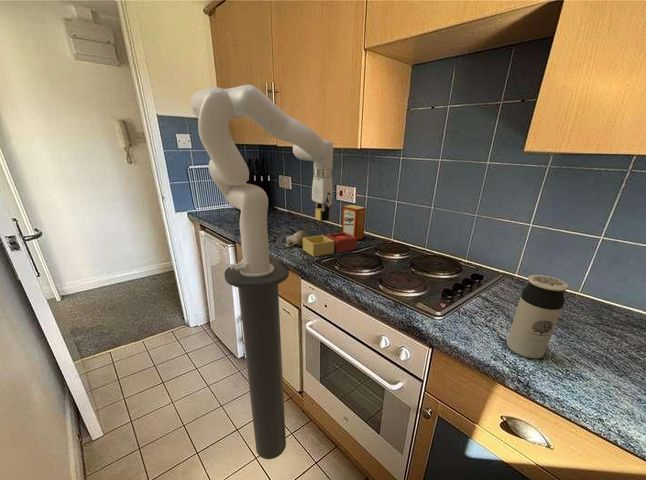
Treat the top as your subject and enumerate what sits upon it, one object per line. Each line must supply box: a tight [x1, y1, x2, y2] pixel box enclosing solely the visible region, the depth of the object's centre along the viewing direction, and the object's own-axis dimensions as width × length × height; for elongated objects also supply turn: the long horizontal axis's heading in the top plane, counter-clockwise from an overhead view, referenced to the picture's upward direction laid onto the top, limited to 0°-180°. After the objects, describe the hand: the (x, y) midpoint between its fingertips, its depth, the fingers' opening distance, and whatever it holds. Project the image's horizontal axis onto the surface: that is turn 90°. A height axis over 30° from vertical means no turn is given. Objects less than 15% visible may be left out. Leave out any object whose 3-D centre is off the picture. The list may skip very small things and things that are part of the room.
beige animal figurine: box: [285, 230, 309, 248], centre depth 139 cm, size 8×10×10 cm
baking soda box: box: [341, 204, 367, 241], centre depth 151 cm, size 10×6×16 cm
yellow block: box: [314, 208, 331, 222], centre depth 127 cm, size 4×4×4 cm
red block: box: [335, 236, 348, 240], centre depth 138 cm, size 4×4×4 cm
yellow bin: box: [302, 234, 335, 257], centre depth 132 cm, size 10×10×6 cm
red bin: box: [325, 231, 358, 253], centre depth 138 cm, size 10×10×6 cm
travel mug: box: [505, 274, 569, 359], centre depth 69 cm, size 8×8×18 cm
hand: (322, 218), depth 127 cm, fingers closed on yellow block, 4 cm apart
